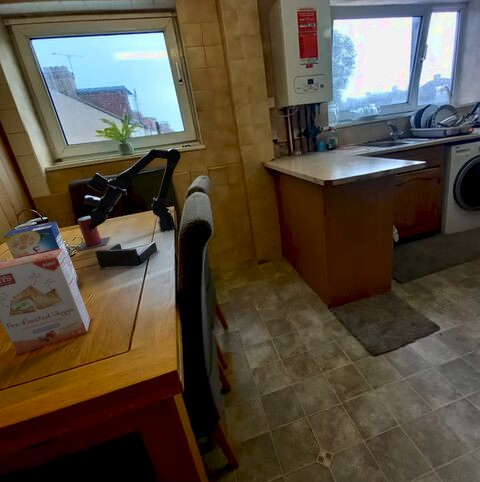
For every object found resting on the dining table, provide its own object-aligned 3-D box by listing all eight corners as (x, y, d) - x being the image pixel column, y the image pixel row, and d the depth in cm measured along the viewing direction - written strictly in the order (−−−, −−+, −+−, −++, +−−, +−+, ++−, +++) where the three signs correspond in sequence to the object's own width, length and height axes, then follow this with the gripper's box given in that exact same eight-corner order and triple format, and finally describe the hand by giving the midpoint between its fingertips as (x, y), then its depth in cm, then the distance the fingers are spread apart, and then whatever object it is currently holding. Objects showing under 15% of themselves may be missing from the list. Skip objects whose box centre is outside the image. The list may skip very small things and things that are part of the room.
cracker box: (17, 356, 62) (-27, 275, 55) (27, 339, 67) (-12, 263, 60) (88, 334, 67) (56, 256, 60) (91, 320, 72) (62, 246, 65)
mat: (109, 237, 134) (108, 237, 134) (105, 245, 124) (105, 244, 124) (83, 242, 131) (83, 242, 131) (77, 251, 121) (77, 250, 121)
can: (104, 241, 128) (96, 216, 124) (91, 247, 123) (82, 220, 119) (96, 240, 132) (88, 215, 127) (83, 245, 126) (73, 219, 122)
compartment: (120, 253, 113) (115, 237, 111) (158, 251, 111) (153, 235, 108) (99, 269, 101) (93, 251, 99) (140, 267, 99) (135, 249, 96)
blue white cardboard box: (77, 293, 86) (51, 227, 78) (35, 305, 82) (2, 236, 74) (80, 283, 92) (56, 221, 84) (41, 294, 88) (11, 230, 80)
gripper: (96, 185, 129) (77, 212, 130) (87, 192, 112) (66, 223, 113) (119, 198, 134) (101, 224, 135) (114, 206, 117) (94, 236, 118)
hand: (91, 226), depth 125 cm, fingers open, 9 cm apart
